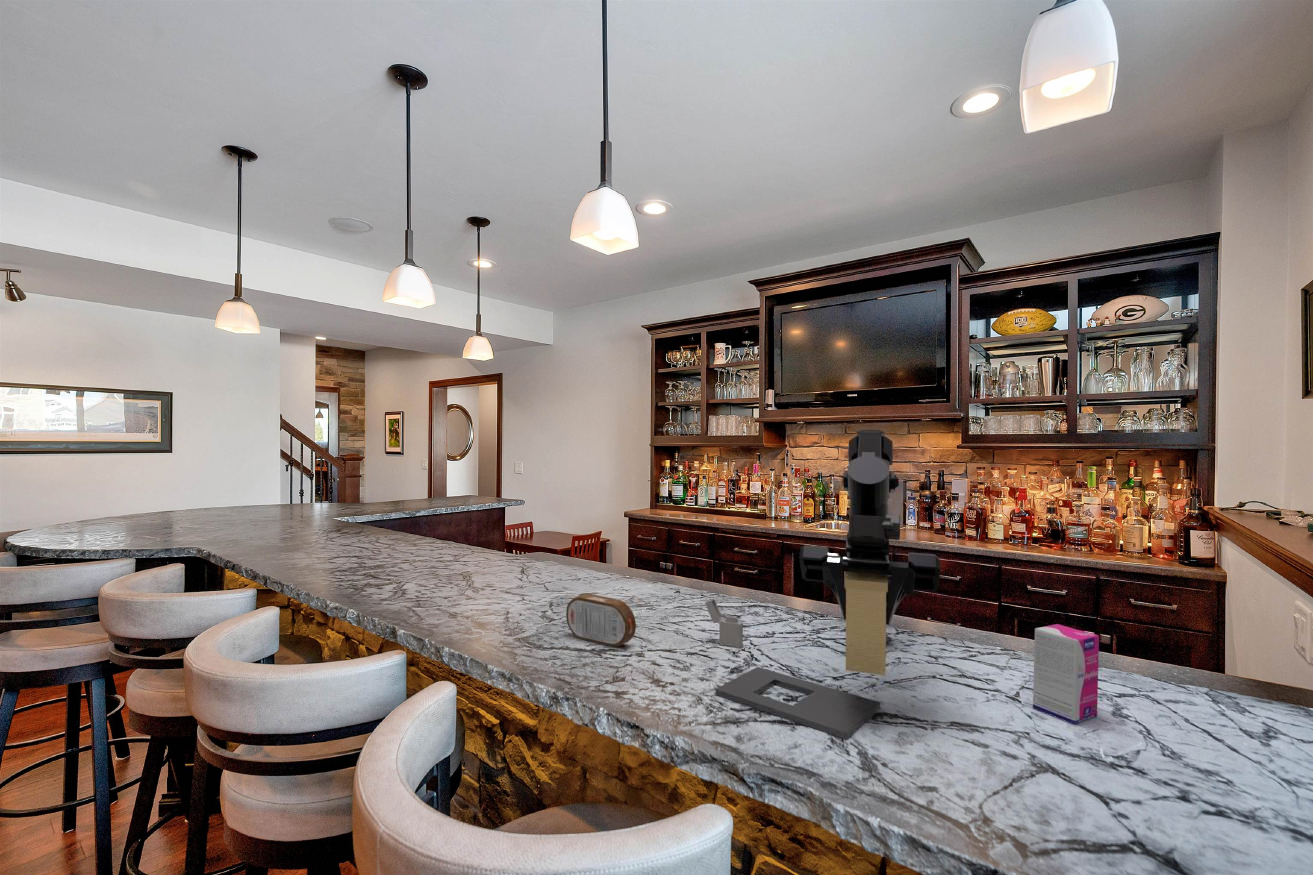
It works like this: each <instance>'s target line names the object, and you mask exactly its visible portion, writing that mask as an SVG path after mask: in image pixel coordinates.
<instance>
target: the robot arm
mask: <svg viewBox="0 0 1313 875" xmlns="http://www.w3.org/2000/svg"><path fill="white" fill-rule="evenodd" d="M893 443H894V442H893V440H891V439H890V438H889V437H887V436H885V431H884V430H881V429H859V430H856V435H855V436H853V437H852V438H851V439H850V440H849V441H848V455H847V460H848V465H847V469H845V470H844V473H843V476H842V480H843V481H842V482H843V483H842V484H843V489H844V492H848V500H849V513H848V514H849V517H848V530H847V533H846V538H845V542H846V543H845V552H846V556H842V555H841V554H839V553H831V552H829V546H820V545H806V544H805V545H804V546H803V547H802V548H801V549H800V550H799V551H800V552H799V559H798V560H799V565H800V573H801V578H802V579H803V580H804V581H806V582H817V583H818V582H819V583H823V586H824V587H826V588H830V589H831V590H832V592H833V594H834V596H835V597H836V599H837V603H838V605H839V608H840V612H841V614H842V618H843V620H845V621H846V588H845V573H847V572H859V573H871V574H883V575H887V579H888V592H886V626H887V625H890V624H891V622H892V619H893V617H894V615H895V613H897V612H898V606H899V604H900V603H901V601H902V600H903V599H904V597H905V596H906V595H913V594H914V591H918V592H919V591H920V592H929V593H935V592H937V591H939V588H940V587H939V586H940V576H941V560H940V558H939V557H938V556H937V555H936V554H935V553H934V554H933V553H924V552H923V553H921V552H920V553H919V552H908V556H907V560H908V561H907V562H903V561H890V560H889V556H890V541H891V540H892V541H894V540H895V541H899V540H900V539H901V515H900V514H889V503H888V501H889V500H890V494H894V493H895V491H896V489H897V487H899V486H900V480H899V477H898V476H896V474H895V471H893V470H892V471H891V470H890V466H893V460H894V457H893V456H894V455H893V454H894V453H893V452H894V449H893V448H894V446H893ZM892 640H893V637H891V636H887V635H886V645H887V644H889V643H890V642H892Z"/></svg>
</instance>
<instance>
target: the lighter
mask: <svg viewBox="0 0 1313 875" xmlns="http://www.w3.org/2000/svg"><path fill="white" fill-rule="evenodd" d="M704 604H705V606H706V609H707V612H708V614H709V617H710V618H711V621H712V623H713V624H715V623H718V622H719V627H718V628H719V637H718V638H719V639H718V641H719V645H720V646H721V645H722V646H727V647H732V648H737V649H740V648H742V647H744V646H743V645H744V640H743V639H744V622H743V621H739V618H738V617H737V616H736V615H729V614H728V615H725V619H724V618H723V617H722V614H721V611H720V609H719V607H718V604H717V602H716V599H715V598H710V599H708V600H705V602H704Z"/></svg>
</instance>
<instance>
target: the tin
mask: <svg viewBox="0 0 1313 875" xmlns="http://www.w3.org/2000/svg"><path fill="white" fill-rule="evenodd" d="M565 615H566V616H565V617H566V622H567V627H568V628H569V630H570V631H571V633H572V634H573V635H574V637H577V638H578V639H581V640H584V641H588V642H592V643H595V644H600V645H604V646H608V647H613V648H614V647H615V648H616V647H620V646H622V645H624V644H627V643H628V642H630V641H631V640H632V639H633V638H634V636H635V633H636V630H637V622H636V618H635V615H634V612H633V610H632V608H630V606H629V605H628V604H627V603H626V602H625V601H623V600H621V599H618V598H613V597H607V596H603V595H597V594H592V593H587V592H585V593H581V594H579V595H578V596H575V597H574V598H572V599H571V600H570V601H569V602H568V604H567V606H566V612H565Z"/></svg>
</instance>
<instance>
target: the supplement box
mask: <svg viewBox="0 0 1313 875" xmlns="http://www.w3.org/2000/svg"><path fill="white" fill-rule="evenodd" d="M1099 647H1100V636H1099V635H1098V634H1095V633H1092V632H1088V631H1084V630H1079V629H1075V628H1074V627H1069V626H1067V625H1066V626H1065V625H1062V624H1059V623H1056V624H1052V625H1046V626H1042V627H1041V626H1040V627H1036V628H1034V647H1033V648H1034V649H1033V650H1034V651H1033V685H1032V686H1033V688H1032V706H1031V708H1032V709H1033V708H1034V710H1036V711H1038V710H1040V711H1039V712H1041V711H1042V712H1041V713H1043V712H1045V713H1044V714H1046V713H1048V714H1047V715H1049V714H1051V715H1053V716H1052V717H1054V716H1056V717H1058V718H1057V719H1059V718H1060V719H1059V720H1061V719H1063V720H1062V721H1064V720H1065V721H1064V722H1066V721H1067V723H1070V724H1073V725H1077V724H1078V723H1081V722H1084V721H1086V720H1089V719H1093V718H1096V717H1098V700H1099V699H1098V698H1099V696H1098V695H1099V693H1098V692H1099V691H1098V690H1099V661H1100V660H1099V656H1100V654H1099V653H1100V652H1099V651H1100V650H1099V649H1100V648H1099ZM1051 715H1050V716H1051ZM1056 717H1055V718H1056Z"/></svg>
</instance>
